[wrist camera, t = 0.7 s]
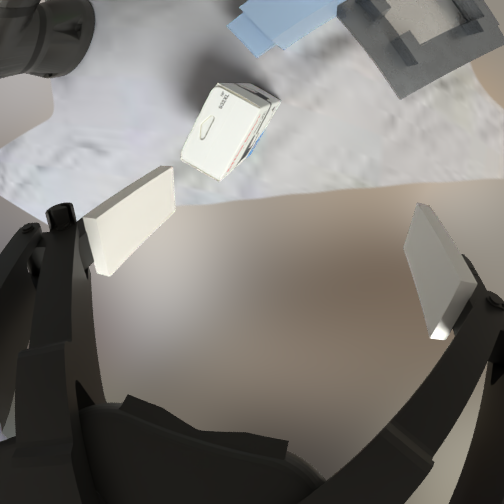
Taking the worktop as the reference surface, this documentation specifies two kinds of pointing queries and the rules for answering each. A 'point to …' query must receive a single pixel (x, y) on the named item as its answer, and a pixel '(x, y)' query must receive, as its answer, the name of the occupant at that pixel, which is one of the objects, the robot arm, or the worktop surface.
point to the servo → (280, 22)
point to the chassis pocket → (420, 37)
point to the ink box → (228, 128)
